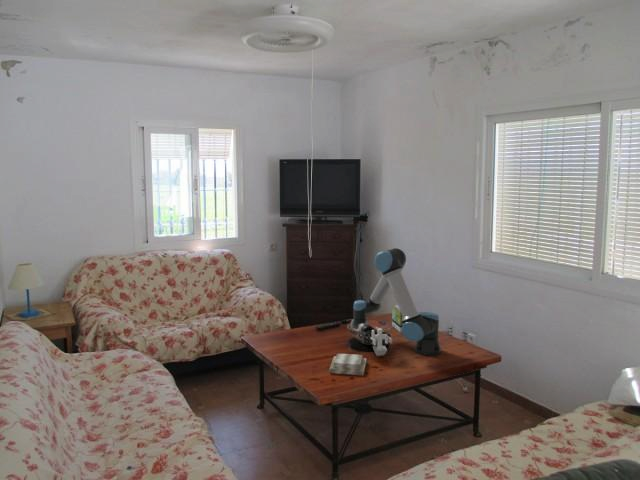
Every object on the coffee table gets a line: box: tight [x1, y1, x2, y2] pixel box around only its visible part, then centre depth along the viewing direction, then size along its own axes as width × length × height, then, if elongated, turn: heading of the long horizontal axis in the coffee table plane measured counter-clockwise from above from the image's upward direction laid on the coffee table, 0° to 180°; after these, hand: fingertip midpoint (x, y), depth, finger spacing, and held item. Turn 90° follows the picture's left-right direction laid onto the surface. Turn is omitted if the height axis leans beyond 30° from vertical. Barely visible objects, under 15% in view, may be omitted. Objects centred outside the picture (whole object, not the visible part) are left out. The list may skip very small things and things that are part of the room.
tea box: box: [391, 304, 403, 333], centre depth 344 cm, size 15×10×15 cm, turn 14°
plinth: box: [328, 353, 367, 376], centre depth 279 cm, size 18×18×5 cm
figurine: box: [371, 327, 389, 357], centre depth 293 cm, size 7×9×15 cm
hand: (383, 342), depth 288 cm, fingers closed on figurine, 9 cm apart
